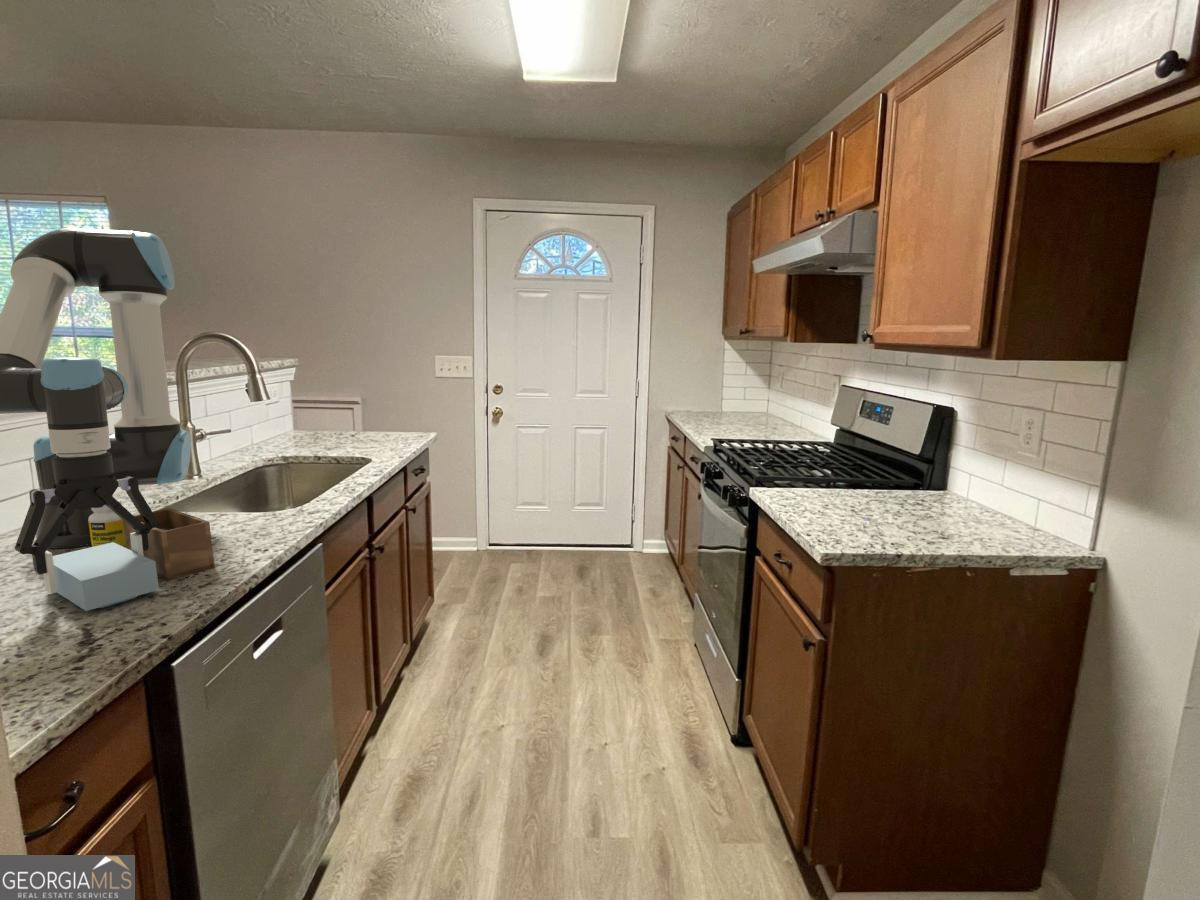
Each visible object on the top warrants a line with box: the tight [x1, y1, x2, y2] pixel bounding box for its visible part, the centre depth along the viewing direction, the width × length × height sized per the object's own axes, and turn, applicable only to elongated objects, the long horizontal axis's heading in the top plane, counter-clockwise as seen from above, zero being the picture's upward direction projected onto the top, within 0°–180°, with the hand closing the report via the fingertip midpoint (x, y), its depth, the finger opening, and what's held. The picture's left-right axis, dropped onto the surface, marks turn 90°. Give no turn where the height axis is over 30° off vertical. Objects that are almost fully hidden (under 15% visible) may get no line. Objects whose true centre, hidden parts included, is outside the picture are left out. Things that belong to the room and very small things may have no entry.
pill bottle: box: [88, 498, 127, 548], centre depth 122 cm, size 6×6×11 cm
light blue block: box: [52, 542, 160, 612], centre depth 104 cm, size 17×10×6 cm, turn 57°
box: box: [123, 507, 215, 582], centre depth 117 cm, size 16×8×9 cm, turn 57°
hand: (97, 579), depth 104 cm, fingers open, 11 cm apart
